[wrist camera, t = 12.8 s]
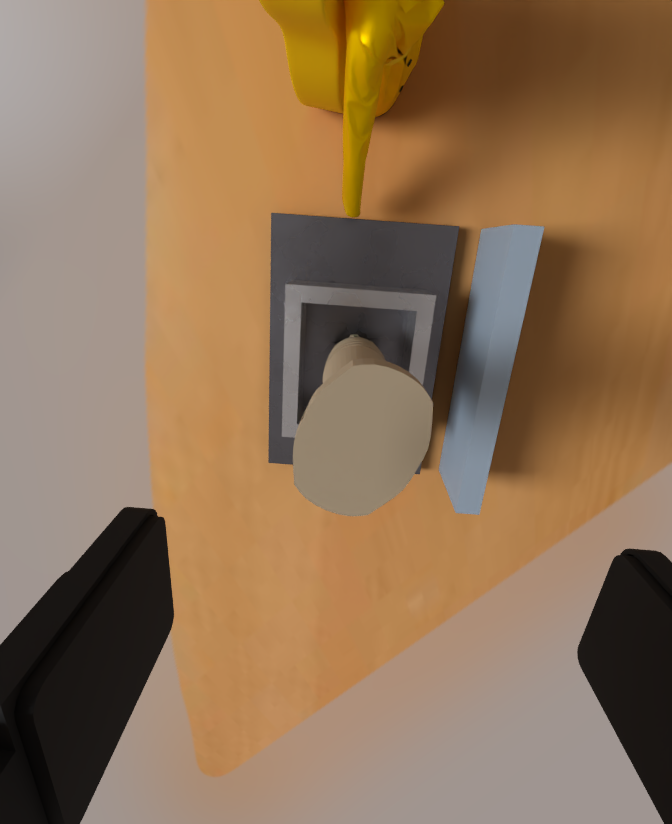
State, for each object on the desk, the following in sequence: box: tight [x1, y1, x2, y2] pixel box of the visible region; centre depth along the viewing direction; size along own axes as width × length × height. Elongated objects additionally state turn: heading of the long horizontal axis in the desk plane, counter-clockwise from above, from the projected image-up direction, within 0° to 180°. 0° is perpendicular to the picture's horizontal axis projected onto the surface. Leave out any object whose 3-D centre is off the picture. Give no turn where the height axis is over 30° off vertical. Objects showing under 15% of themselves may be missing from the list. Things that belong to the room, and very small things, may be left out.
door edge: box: [439, 225, 544, 515], centre depth 28 cm, size 18×2×6 cm, turn 176°
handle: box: [293, 334, 433, 516], centre depth 23 cm, size 5×6×15 cm
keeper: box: [269, 213, 459, 474], centre depth 29 cm, size 18×12×4 cm, turn 176°
